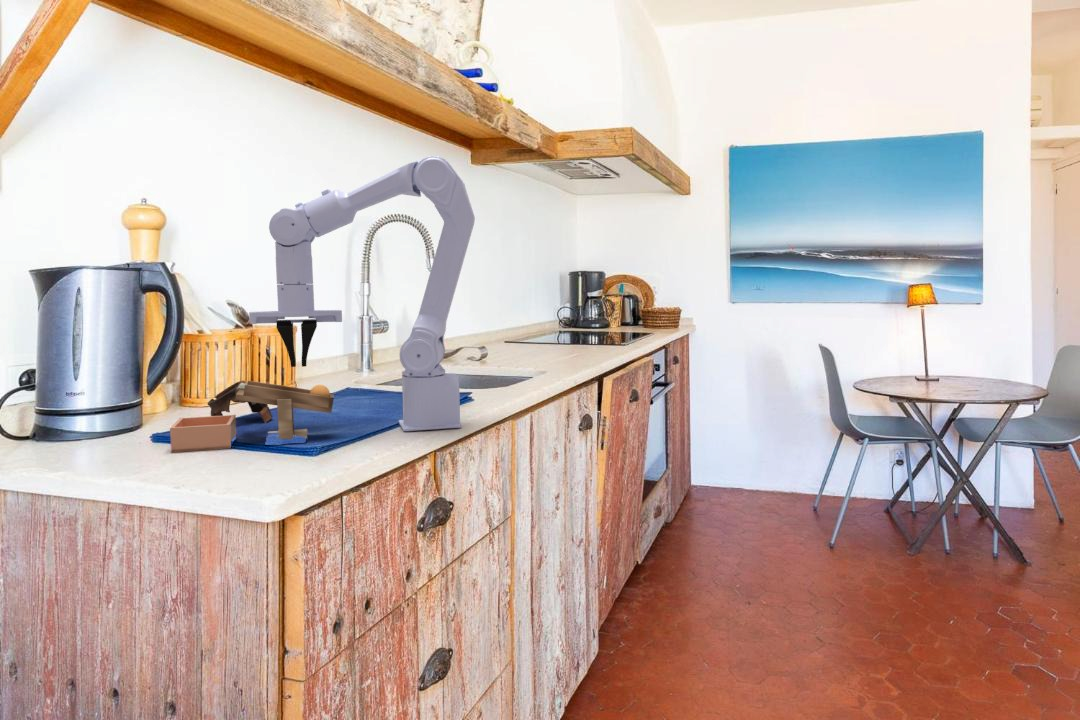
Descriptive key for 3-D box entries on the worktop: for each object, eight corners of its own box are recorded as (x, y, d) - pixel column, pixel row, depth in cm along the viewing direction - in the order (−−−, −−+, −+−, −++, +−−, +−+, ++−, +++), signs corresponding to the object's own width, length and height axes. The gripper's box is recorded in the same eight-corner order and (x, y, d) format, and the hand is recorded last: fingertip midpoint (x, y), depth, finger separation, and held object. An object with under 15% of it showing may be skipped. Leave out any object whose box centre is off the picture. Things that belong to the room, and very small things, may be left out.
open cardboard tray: (236, 437, 115) (235, 414, 114) (231, 448, 107) (229, 424, 107) (181, 440, 113) (179, 418, 112) (171, 452, 105) (169, 428, 105)
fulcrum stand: (307, 432, 118) (305, 391, 117) (306, 443, 110) (304, 399, 110) (268, 435, 116) (266, 393, 115) (264, 446, 109) (262, 401, 108)
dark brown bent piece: (264, 429, 123) (235, 390, 121) (220, 451, 125) (191, 413, 123) (290, 400, 135) (264, 363, 132) (250, 420, 137) (224, 385, 134)
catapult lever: (329, 401, 123) (332, 387, 123) (331, 413, 112) (333, 398, 112) (239, 388, 118) (241, 374, 118) (231, 399, 108) (234, 383, 108)
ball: (328, 402, 116) (330, 384, 116) (328, 405, 113) (330, 387, 113) (309, 401, 115) (310, 382, 115) (308, 404, 112) (310, 385, 112)
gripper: (339, 284, 126) (342, 361, 127) (250, 284, 121) (254, 365, 123) (341, 284, 119) (344, 366, 120) (246, 285, 115) (250, 370, 116)
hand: (298, 366), depth 121 cm, fingers closed
